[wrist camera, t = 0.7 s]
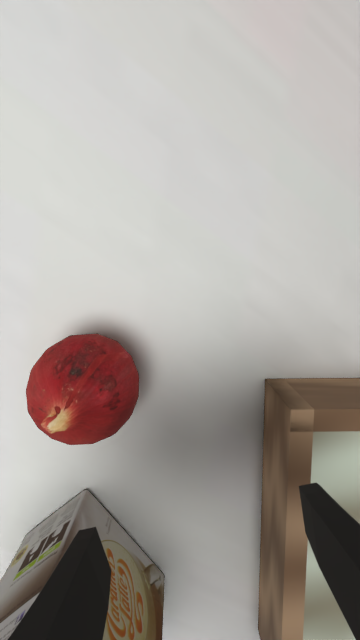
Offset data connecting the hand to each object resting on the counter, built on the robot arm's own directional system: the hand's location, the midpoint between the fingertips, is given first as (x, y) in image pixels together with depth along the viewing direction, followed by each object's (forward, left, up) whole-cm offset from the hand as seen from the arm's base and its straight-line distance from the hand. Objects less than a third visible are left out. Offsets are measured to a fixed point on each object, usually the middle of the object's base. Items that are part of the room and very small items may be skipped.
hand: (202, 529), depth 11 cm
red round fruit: (+3, +6, -11) cm, 13 cm away
